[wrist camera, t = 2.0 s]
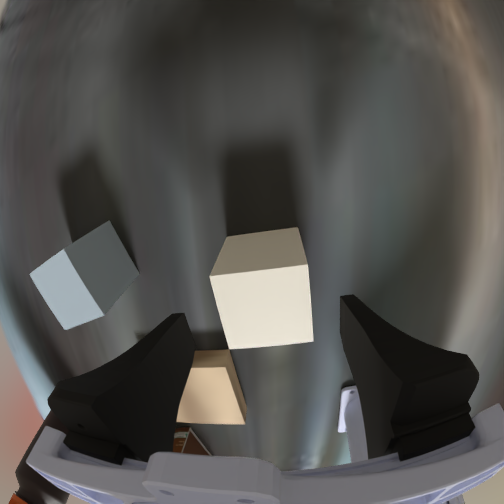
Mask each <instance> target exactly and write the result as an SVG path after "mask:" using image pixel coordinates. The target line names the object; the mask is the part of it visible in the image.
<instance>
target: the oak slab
mask: <svg viewBox="0 0 504 504" xmlns="http://www.w3.org/2000/svg"><path fill="white" fill-rule="evenodd" d="M246 411H247V406H246V403H245V400H244V397H243V394H242V390H241V387H240V384H239V381H238V377H237V374H236V371H235V367H234V364H233V360H232V357H231V354H230V350H229V349H226V350H204V351H195V353H194V359H193V364H192V367H191V370H190V374H189V377H188V380H187V383H186V386H185V389H184V392H183V395H182V398H181V401H180V405H179V410H178V415H177V421H176V422H185V423H203V424H245V420H246Z"/></svg>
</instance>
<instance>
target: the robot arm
mask: <svg viewBox="0 0 504 504" xmlns="http://www.w3.org/2000/svg"><path fill="white" fill-rule="evenodd" d="M340 334H341V339H342V343H343V348H344V352H345V355H346V357H347V360H348V363H349V366H350V369H351V372H352V375H353V378H354V381H355V384H356V386H350V387H345V388H343V389H342V390H341V399H340V410H339V420H338V432H347V437H348V443H349V449H350V456H351V462H352V463H349V464H343V465H337V466H331V467H323V468H315V469H306V470H296V471H281V472H280V470H279V469H278V468H277V467H276V466H275V465H274V464H273V463H271V462H269V461H265V460H262V459H259V458H250V457H231V456H208V455H195V454H184V453H175V452H173V443H174V434H175V427H176V421H177V415H178V410H179V405H180V401H181V398H182V395H183V392H184V389H185V386H186V383H187V380H188V377H189V374H190V370H191V367H192V364H193V359H194V353H195V347H196V345H195V342H194V340H193V337H192V334H191V331H190V328H189V326H188V323H187V320H186V317H185V314H184V313H175V314H171V315H170V316H169V317H167V318H166V319H165V320H164V321H163V322H162V323H160V324H159V325H158V326H157V327H156V328H155V329H153V330H152V331H151V332H150V333H149V334H148V335H146V336H145V337H144V338H143V339H142V340H140V341H139V342H138V343H137V344H135V345H134V346H133V347H131V348H130V349H129V350H127V351H126V352H124V353H123V354H121V355H120V356H118V357H117V358H115V359H114V360H112V361H110V362H108V363H106V364H104V365H102V366H101V367H99V368H97V369H94V370H92V371H90V372H87V373H85V374H82V375H80V376H77V377H74V378H70V379H67V380H64V381H60V382H59V383H58V384H57V386H56V387H55V389H54V390H53V392H52V393H51V395H50V396H49V398H48V405H49V407H50V409H51V410H52V412H53V413H54V414H55V415H56V416H57V418H58V419H59V420H60V421H61V422H62V423H63V424H64V425H65V427H66V428H67V429H68V430H69V431H68V433H67V435H66V434H64V433H63V432H61V431H59V430H56V429H54V428H51V427H48V426H45V428H44V430H43V431H42V433H41V435H40V437H39V438H38V440H37V442H36V444H35V445H34V447H33V449H32V451H31V453H30V454H29V456H28V458H27V460H26V463H27V464H28V465H29V466H31V467H32V468H33V469H34V470H35V471H37V472H38V473H39V474H40V475H42V476H43V477H44V478H46V479H47V480H48V481H50V482H51V483H52V484H54V485H55V486H56V487H58V488H60V489H62V490H63V491H65V492H67V493H70V494H72V495H74V496H76V497H78V498H80V499H82V500H84V501H86V502H88V503H91V504H465V502H464V499H463V495H462V493H464V492H466V491H468V490H470V489H472V488H474V487H475V486H477V485H479V484H481V483H483V482H485V481H486V480H488V479H490V478H491V477H493V476H494V475H495V474H496V473H497V472H498V471H499V470H501V469H502V468H503V467H504V411H503V409H502V407H501V406H500V404H495V405H494V406H492V407H490V408H488V409H486V410H484V411H482V412H480V413H478V414H476V415H475V416H474V417H473V418H472V419H471V417H470V415H469V412H470V411H471V407H470V405H469V403H468V401H469V399H470V397H471V395H472V393H473V392H474V390H475V388H476V386H477V383H478V380H479V372H478V370H477V369H476V367H475V366H474V364H473V362H472V361H471V360H470V358H469V357H468V356H467V355H466V354H461V353H456V352H452V351H447V350H444V349H441V348H438V347H434V346H432V345H429V344H426V343H424V342H422V341H419V340H417V339H415V338H413V337H411V336H409V335H407V334H405V333H404V332H402V331H400V330H398V329H397V328H395V327H393V326H392V325H391V324H389V323H388V322H386V321H385V320H383V319H382V318H381V317H379V316H378V315H377V314H376V313H374V312H373V311H372V310H371V309H370V308H368V307H367V306H366V305H365V304H364V303H363V302H362V301H360V300H359V299H358V298H357V297H356V296H355V295H353V294H352V295H345V296H340Z"/></svg>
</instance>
